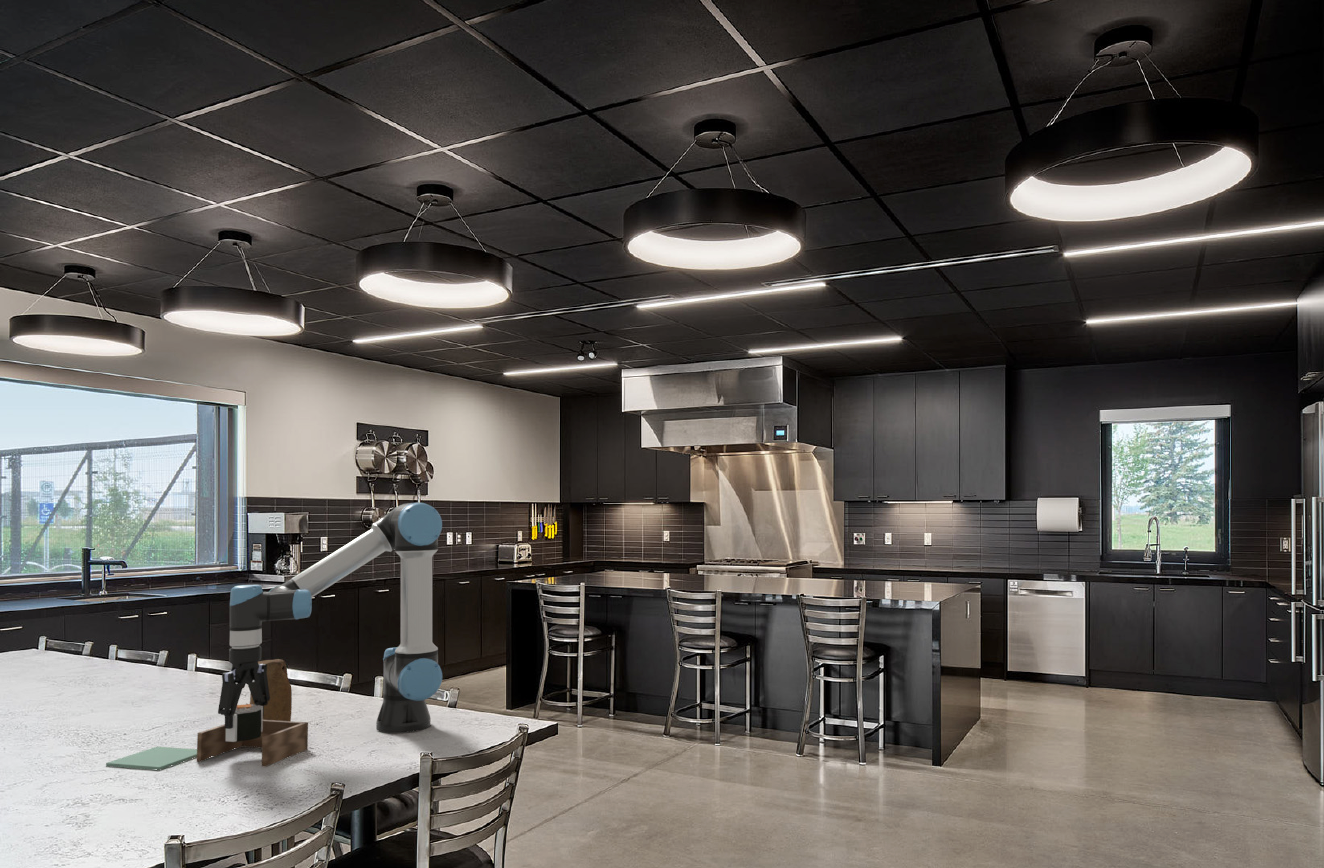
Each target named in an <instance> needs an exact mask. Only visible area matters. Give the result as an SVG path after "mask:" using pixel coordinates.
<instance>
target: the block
mask: <svg viewBox="0 0 1324 868" xmlns="http://www.w3.org/2000/svg"><path fill="white" fill-rule="evenodd" d="M258 664H267V680H268V687H269V694H270V700H269V701H268V704H267V705H264V716H263V720H276V721H291V720H292V707H293V706H292V705H293V704H292V703H293V702H292V701H293V698H292V697H293V695H292V689H293V688H292V685H291V682H290V681H289V676H288V670H287V664H286V661H285V660H283V659H279V658H277V659H265V660H260V661H258ZM249 693H250V697H249V704H253V705H254V701H253V698H252V695H251V692H249ZM264 696H265V695H264Z"/></svg>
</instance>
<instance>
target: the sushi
mask: <svg viewBox="0 0 1324 868" xmlns="http://www.w3.org/2000/svg"><path fill="white" fill-rule="evenodd" d="M261 709H262V707H261V706H259V705H258V706H256V705H255V704H254V705H253V704H250V703H246V702H245V704H237V707H236V710H235V714H237V741H245V740H252V739H256V738H259V737H261ZM230 710H231V708H230ZM237 741H236V742H237Z"/></svg>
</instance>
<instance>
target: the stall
mask: <svg viewBox="0 0 1324 868" xmlns="http://www.w3.org/2000/svg"><path fill="white" fill-rule="evenodd" d="M196 738H197V740H196V742H197V743H196V749H197V757H196V762H199V761H201V762H204V761H206V760H208V759H207V758H209V757H211V756H215V757H217V756H220V755H222V754H221V753H223V752H226V753H228V752H231V751H233V750H232V749H234V748H237V749H239V747H240V748H242V747H244V746H246V747H245V748H258V747H260V749H261V767H268V766H270V765H273V764H275V763H276V764H277V763H279V762H280V761H283V760H286V759H288V758H290V757H289V756H291V757H292V756H294V755H297V753H298V754H300V753H303V752H305V751H308V744H309V742H308V740H309V739H308V738H309V722H305V721H276V720H263V732H261V737H259V738H256V739H252V740H245V741H237V742H229V741H226V729H225V723H224V724H221V725H218V726H215V727H212V728H208V729H206V730H201V731H199V732H197V737H196ZM230 750H231V751H230ZM234 750H235V749H234ZM227 751H228V752H227ZM299 752H300V753H299ZM219 754H220V755H219ZM223 754H224V753H223ZM216 755H217V756H216ZM287 757H288V758H287ZM285 758H286V759H285ZM205 759H206V760H205ZM209 759H210V758H209ZM203 760H204V761H203Z"/></svg>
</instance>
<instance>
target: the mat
mask: <svg viewBox="0 0 1324 868" xmlns="http://www.w3.org/2000/svg"><path fill="white" fill-rule="evenodd" d="M194 757H196V758H197V748H196V749H195V748H186V747H185V748H183V747H182V748H181V747H168V746H154V747H151V748H149V749H145V750H142V751H139V752H136V753H133V754H130V755H129V754H128V755H126V756H123V757H120V758H117V759H114V760H110V761H108V762H105V766H106V767H109V766H113V768H121V767H124V768H123V769H135V770H146V769H157V770H156V771H158V770H159V771H161V770H160V769H162V770H164V768H165V769H167V768H166V767H168V768H170V767H169V766H171V765H174V766H176V765H179V764H182V763H184V762H183V761H185V762H186V761H187V762H188V761H191V760H192V758H193V759H195V758H194ZM181 762H182V763H181ZM178 763H179V764H178ZM171 767H172V766H171Z"/></svg>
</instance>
